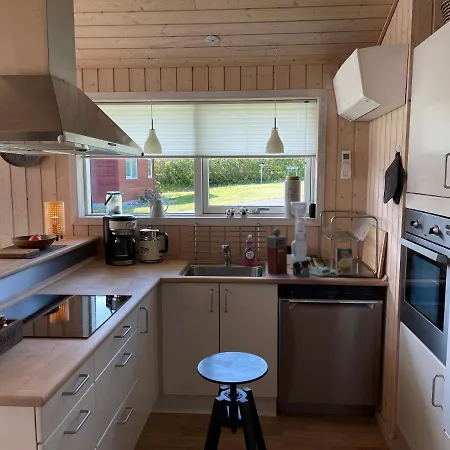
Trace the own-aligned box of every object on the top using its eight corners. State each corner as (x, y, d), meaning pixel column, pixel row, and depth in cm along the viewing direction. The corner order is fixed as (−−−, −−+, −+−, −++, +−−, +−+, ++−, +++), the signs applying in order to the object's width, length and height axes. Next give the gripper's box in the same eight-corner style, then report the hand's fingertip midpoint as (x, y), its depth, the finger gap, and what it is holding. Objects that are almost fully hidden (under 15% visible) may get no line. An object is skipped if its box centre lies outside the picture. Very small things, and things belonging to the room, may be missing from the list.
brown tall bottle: (277, 276, 274) (276, 230, 271) (267, 272, 284) (266, 228, 281) (289, 274, 278) (288, 229, 275) (279, 271, 288) (278, 227, 285)
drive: (292, 275, 275) (292, 265, 274) (297, 274, 277) (297, 264, 276) (304, 278, 267) (304, 268, 266) (309, 276, 269) (309, 267, 268)
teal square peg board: (297, 272, 283) (297, 266, 282) (318, 267, 293) (318, 262, 292) (319, 276, 268) (319, 271, 268) (339, 272, 278) (339, 266, 278)
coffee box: (336, 275, 269) (336, 249, 267) (335, 273, 275) (335, 247, 273) (352, 275, 268) (352, 249, 266) (350, 273, 274) (350, 247, 272)
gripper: (296, 253, 263) (296, 276, 264) (314, 250, 271) (314, 272, 273) (288, 252, 269) (288, 274, 270) (305, 249, 277) (306, 271, 278)
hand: (301, 273), depth 272 cm, fingers open, 5 cm apart
